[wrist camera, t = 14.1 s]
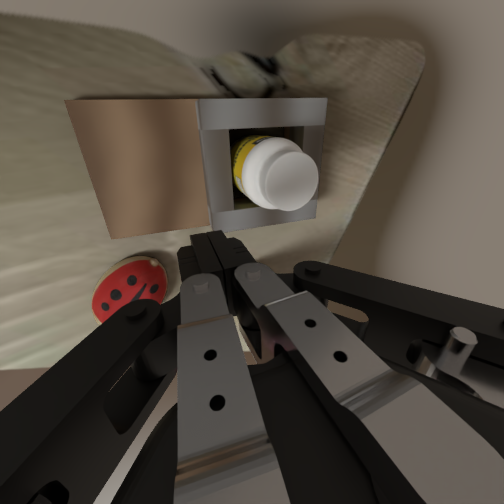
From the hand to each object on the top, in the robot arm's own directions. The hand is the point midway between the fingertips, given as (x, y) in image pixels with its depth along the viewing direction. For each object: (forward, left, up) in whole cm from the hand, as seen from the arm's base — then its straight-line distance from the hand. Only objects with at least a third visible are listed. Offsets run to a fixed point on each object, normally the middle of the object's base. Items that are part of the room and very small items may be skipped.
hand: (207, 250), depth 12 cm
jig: (+1, +3, -14) cm, 14 cm away
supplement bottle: (+4, +6, -14) cm, 16 cm away
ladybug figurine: (+2, -13, -15) cm, 20 cm away
